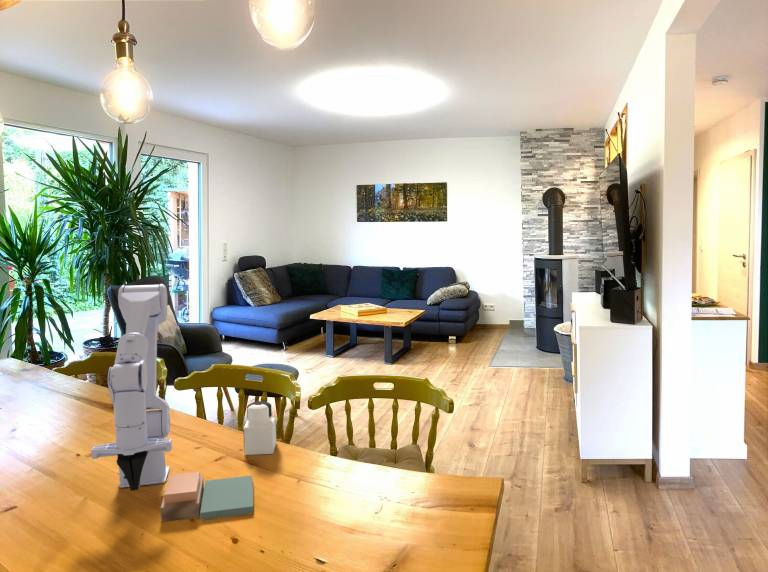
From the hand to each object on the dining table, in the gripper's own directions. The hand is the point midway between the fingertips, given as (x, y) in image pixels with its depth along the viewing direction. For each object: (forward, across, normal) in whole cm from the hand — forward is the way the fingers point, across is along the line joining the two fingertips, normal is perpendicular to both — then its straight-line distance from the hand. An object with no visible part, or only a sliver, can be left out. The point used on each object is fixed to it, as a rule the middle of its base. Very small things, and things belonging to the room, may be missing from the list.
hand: (135, 488), depth 114 cm
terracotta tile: (+2, +9, 0) cm, 9 cm away
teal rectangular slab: (+5, +18, 0) cm, 18 cm away
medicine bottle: (+5, +25, +25) cm, 36 cm away
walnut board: (+5, +9, 0) cm, 10 cm away
